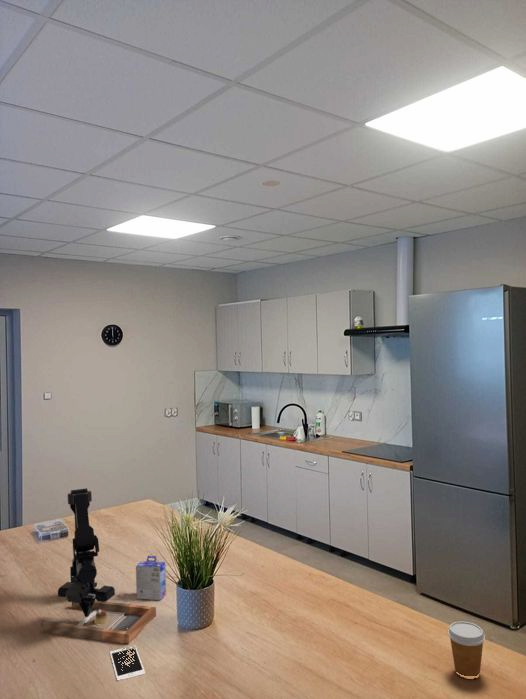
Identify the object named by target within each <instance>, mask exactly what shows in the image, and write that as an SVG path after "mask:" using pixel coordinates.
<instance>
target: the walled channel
mask: <svg viewBox="0 0 526 699" xmlns="http://www.w3.org/2000/svg"><path fill="white" fill-rule="evenodd" d="M71 608H72V609H76V610H82V608H81V606H80V604H79V603H75V602H71ZM99 609H100V610H102V609H103V610H104V611H112V612H120V613H125V614H128V615H126V617H125V618H123V619H122V621H120V622H119V623H118V624H117V625H116V626H115V627H113V629H111V628H110V629H107V628H103V627H96V626H95V627H94V626H87V625H82V626H81V625H78V624H72V623H64V622H56V621H49V620H42V621H41V622H40V632H41V633H45V634H46V633H47V634H52V635H61V636H68V637H74V638H81V639H82V638H83V639H90V640H94V641H95V640H96V641H102V642H109V643H111V642H112V643H117V642H120V643H119V644H124V643H128V644H127V645H130V644H131V643H130V642H131V641H132V640H133V639H136V637H138V636H139V634H141V632H142V631H143V630H144V629H145V628H146V627H147V626H148V625H149V624H150V623H151V622H152V621H153V620H154V619H155V618H154V617H157V607H156V606H147V605H138V604H131V603H121V602H114V601H113V602H112V601H106V602H101V601H97V600H95V602H94V604H93V607H92V609H91V612H93V611H94V610H99ZM153 618H154V619H153ZM151 620H152V621H151ZM150 621H151V622H150ZM149 622H150V623H149ZM148 623H149V624H148ZM147 624H148V625H147ZM146 625H147V626H146ZM145 626H146V627H145ZM144 627H145V628H144ZM127 628H128V629H127ZM143 628H144V629H143ZM141 630H142V631H141ZM133 641H134V640H133ZM133 641H132V642H133ZM129 643H130V644H129Z"/></svg>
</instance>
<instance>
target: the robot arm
mask: <svg viewBox="0 0 526 699" xmlns="http://www.w3.org/2000/svg"><path fill="white" fill-rule="evenodd" d="M92 497H93V496H92V491H91V490H88V488H78V489H71V490H70V493H69V492H68V493H67V504H68V505H69V508H70V510H71V511H72V512H73V514H74V533H73V534H74V538H72V554H73V558H72V561H71V566H69V568H70V569H69V570H70V572H69V576H70V578H69V579H70V581H67V582H65V583H64V584H62V585H61V586H60V587H59V588H58V589H57V597H58V598H66V599H67V602H68V603H72V602H75V603H79V604H80V606H81V608H82V609H81V611H82V613H83V615H84V617H85V618H86V617H88V616H89V615H90V614H91V613H92V611H91V609H92V607H93V604H94V602H95V600H97V601H101V602H109V600H110V599H111V598H112V597H113V596H115V595H116V589H115V587H114V586H112V585H103V586H102V587H100V588H99V587H97V586H98V582H96V580H95V578H96V577H97V574H98V573H97V572H98V570H97V566H96V562H95V557H99V554H98V553H99V552H100V543H99V538H98V536H97V535H96V534H95V532H94V530H95V529H94V528H93V527H92V526H91V525H90V520H89V519H90V518H89V517H90V516H89V511H88V510H89V507H90V503H91V502H92Z"/></svg>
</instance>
